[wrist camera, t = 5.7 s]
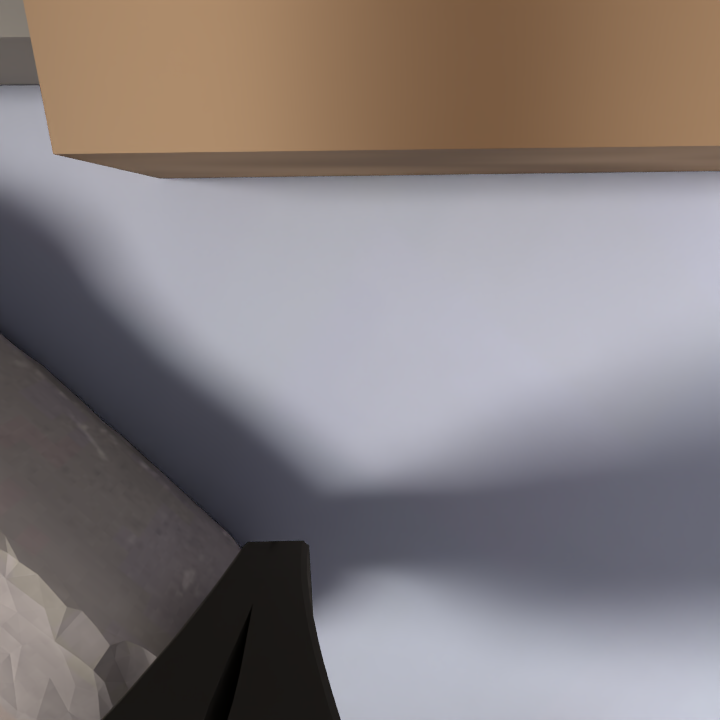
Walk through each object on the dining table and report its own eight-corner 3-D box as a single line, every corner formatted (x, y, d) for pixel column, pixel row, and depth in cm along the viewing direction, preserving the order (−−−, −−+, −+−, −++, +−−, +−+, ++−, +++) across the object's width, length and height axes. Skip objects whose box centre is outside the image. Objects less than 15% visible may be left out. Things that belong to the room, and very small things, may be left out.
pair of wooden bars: (752, 77, 8) (987, -9, 5) (601, 782, 13) (672, 940, 10) (-373, 88, 7) (-821, 5, 5) (-60, 804, 13) (-179, 972, 10)
